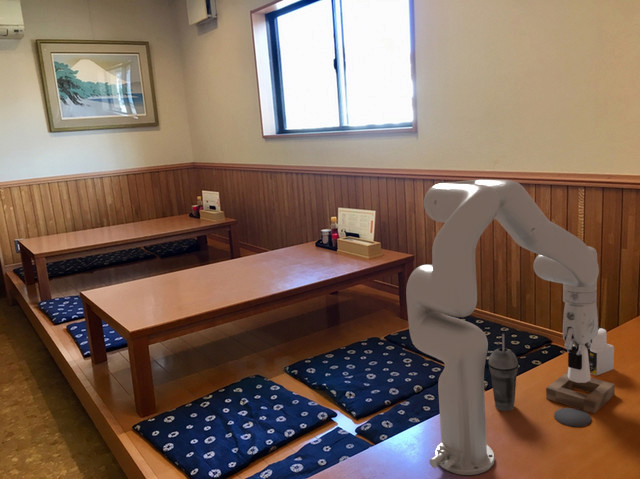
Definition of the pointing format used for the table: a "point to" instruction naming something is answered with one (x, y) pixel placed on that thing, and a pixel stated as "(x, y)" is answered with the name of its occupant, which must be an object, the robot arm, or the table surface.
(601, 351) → the medicine bottle
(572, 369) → the pepper shaker
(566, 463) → the table surface
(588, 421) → the coaster
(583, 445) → the table surface
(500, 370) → the beverage cup
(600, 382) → the board
